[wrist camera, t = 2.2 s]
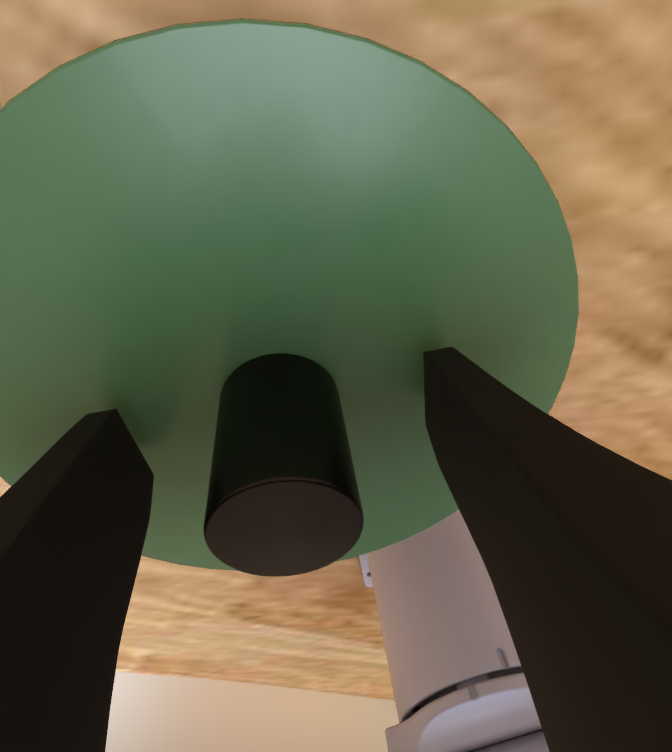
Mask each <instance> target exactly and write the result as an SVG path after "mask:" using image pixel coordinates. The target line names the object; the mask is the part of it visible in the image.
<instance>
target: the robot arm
mask: <svg viewBox="0 0 672 752" xmlns="http://www.w3.org/2000/svg"><path fill="white" fill-rule="evenodd" d="M423 360H424V397H425V425H426V428H427V431H428V435H429V438H430V441H431V444H432V447H433V450H434V453H435V456H436V459H437V462H438V465H439V467H440V470H441V472H442V474H443V476H444V478H445V481H446V483H447V485H448V487H449V489H450V491H451V493H452V496H453V498H454V500H455V502H456V504H457V506H458V508H459V510H457V511H456V512H455V513H453V514H451V515H450V516H448V517H446V518H445V519H443V520H441V521H440V522H438V523H436V524H435V525H433V526H431V527H429V528H427V529H425V530H423V531H421V532H419V533H417V534H415V535H413V536H411V537H409V538H407V539H405V540H402V541H400V542H397V543H394V544H392V545H389V546H387V547H384V548H382V549H379V550H376V551H373V552H370V553H366V554H363V555H360V556H359V559H360V564H361V569H362V575H363V580H364V584H365V586H367V587H370V588H372V587H373V589H374V594H375V599H376V604H377V609H378V614H379V620H380V625H381V630H382V635H383V640H384V645H385V650H386V656H387V661H388V666H389V671H390V676H391V681H392V686H393V691H394V697H395V702H396V707H397V712H398V717H399V722H400V723H399V724H397V725H395V726H392V727H389V728H387V729H386V730H385V734H386V740H387V746H388V752H672V480H670V479H668V478H665V477H663V476H661V475H659V474H657V473H655V472H653V471H650V470H648V469H646V468H644V467H642V466H640V465H638V464H636V463H634V462H632V461H630V460H628V459H626V458H624V457H622V456H620V455H618V454H617V453H615V452H613V451H611V450H609V449H607V448H605V447H603V446H601V445H599V444H597V443H596V442H594V441H592V440H590V439H588V438H587V437H585V436H583V435H581V434H579V433H578V432H576V431H574V430H573V429H571V428H569V427H568V426H566V425H565V424H563V423H561V422H560V421H558V420H556V419H555V418H553V417H551V416H550V415H548V414H546V413H545V412H543V411H542V410H540V409H539V408H537V407H536V406H534V405H533V404H531V403H530V402H528V401H527V400H525V399H524V398H522V397H521V396H519V395H518V394H516V393H515V392H513V391H512V390H511V389H509V388H508V387H506V386H505V385H504V384H502V383H501V382H499V381H498V380H497V379H495V378H494V377H493V376H491V375H490V374H489V373H487V372H486V371H484V370H483V369H482V368H480V367H479V366H478V365H476V364H475V363H474V362H472V361H471V360H470V359H468V358H467V357H466V356H464V355H463V354H462V353H460V352H459V351H458V350H456V349H455V348H454V347H447V348H442V349H437V350H431V351H426V352H423ZM153 481H154V474H153V472H152V471H151V469H150V467H149V465H148V464H147V462H146V460H145V458H144V456H143V455H142V453H141V451H140V449H139V448H138V446H137V444H136V442H135V441H134V439H133V437H132V435H131V434H130V432H129V430H128V428H127V426H126V425H125V423H124V421H123V419H122V418H121V416H120V414H119V412H118V411H117V409H111V410H106V411H101V412H95V413H90V414H86V415H85V416H84V417H83V418H82V419H80V420H79V421H78V422H77V423H76V424H75V425H74V426H73V427H72V428H71V429H69V430H68V431H67V432H66V433H65V434H64V435H63V436H62V437H61V438H60V439H59V440H58V441H57V442H56V443H55V444H54V445H53V446H52V447H51V448H50V449H49V450H48V451H47V452H46V453H45V454H44V455H43V456H42V457H41V458H40V459H39V460H38V461H37V462H36V463H35V464H34V465H33V466H32V467H31V468H30V469H29V470H28V471H27V472H26V473H25V474H24V475H23V476H22V477H21V478H20V479H19V480H18V481H17V482H16V483H15V484H13V485H12V486H11V487H10V488H9V489H8V490H7V491H6V492H5V493H4V494H3V495H2V496H1V497H0V752H105V746H106V738H107V729H108V720H109V711H110V704H111V696H112V691H113V684H114V677H115V670H116V663H117V656H118V650H119V645H120V641H121V636H122V631H123V626H124V622H125V618H126V614H127V610H128V606H129V602H130V598H131V594H132V590H133V586H134V582H135V578H136V574H137V570H138V566H139V562H140V558H141V554H142V550H143V546H144V542H145V537H146V533H147V529H148V524H149V520H150V512H151V504H152V493H153Z"/></svg>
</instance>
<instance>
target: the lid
mask: <svg viewBox="0 0 672 752" xmlns="http://www.w3.org/2000/svg"><path fill="white" fill-rule="evenodd" d="M578 313H579V312H578V275H577V269H576V263H575V258H574V252H573V246H572V241H571V237H570V234H569V231H568V229H567V226H566V223H565V220H564V217H563V214H562V212H561V209H560V206H559V203H558V200H557V199H556V197H555V195H554V193H553V191H552V190H551V188H550V186H549V184H548V182H547V181H546V179H545V177H544V175H543V173H542V172H541V170H540V168H539V166H538V164H537V163H536V161H535V160H534V159H533V157H532V156H531V155H530V154H529V152H528V151H527V150H526V149H525V147H524V146H523V145H522V144H521V142H520V141H519V140H518V139H517V137H516V136H515V135H514V134H513V132H512V131H511V130H510V129H509V127H508V126H507V125H506V124H505V123H504V122H502V121H501V120H500V119H499V118H498V117H497V116H496V115H495V114H494V113H492V112H491V111H490V110H489V109H488V108H487V107H486V106H485V105H483V104H482V103H481V102H480V101H479V100H478V99H477V98H476V97H475V96H473V95H472V94H471V93H470V92H469V91H467V90H466V89H464V88H463V87H461V86H460V85H458V84H456V83H455V82H453V81H452V80H450V79H449V78H447V77H445V76H444V75H442V74H441V73H439V72H437V71H436V70H434V69H433V68H431V67H430V66H428V65H426V64H425V63H423V62H422V61H419V60H417V59H415V58H412V57H410V56H408V55H405V54H403V53H400V52H398V51H396V50H393V49H391V48H389V47H386V46H384V45H382V44H379V43H377V42H374V41H372V40H370V39H367V38H364V37H360V36H355V35H351V34H347V33H343V32H339V31H335V30H331V29H327V28H323V27H318V26H314V25H310V24H306V23H293V22H280V21H267V20H254V19H231V20H219V21H208V22H196V23H185V24H176V25H172V26H168V27H164V28H160V29H156V30H153V31H149V32H145V33H141V34H137V35H133V36H130V37H126V38H122V39H118V40H114V41H112V42H110V43H108V44H106V45H103V46H101V47H99V48H97V49H95V50H92V51H90V52H88V53H86V54H84V55H82V56H79V57H77V58H75V59H73V60H71V61H68V62H66V63H64V64H62V65H60V66H58V67H56V68H55V69H53V70H52V71H50V72H49V73H48V74H46V75H45V76H43V77H42V78H40V79H39V80H38V81H36V82H35V83H33V84H32V85H30V86H29V87H28V88H26V89H25V90H23V91H22V92H20V93H19V94H18V95H16V96H15V97H13V98H12V99H10V100H9V101H8V102H7V103H6V104H5V105H4V106H3V107H2V108H1V109H0V476H1V477H2V478H3V479H4V480H5V481H6V482H7V483H8V484H9V485H11V486H12V485H13V484H15V483H16V482H17V481H18V480H19V479H20V478H21V477H22V476H23V475H24V474H25V473H26V472H27V471H28V470H29V469H30V468H31V467H32V466H33V465H34V464H35V463H36V462H37V461H38V460H39V459H40V458H41V457H42V456H43V455H44V454H45V453H46V452H47V451H48V450H49V449H50V448H51V447H52V446H53V445H54V444H55V443H56V442H57V441H58V440H59V439H60V438H61V437H62V436H63V435H64V434H65V433H66V432H67V431H68V430H69V429H71V428H72V427H73V426H74V425H75V424H76V423H77V422H78V421H79V420H80V419H82V418H83V417H84V416H85V415H86V414H90V413H95V412H101V411H106V410H111V409H117V411H118V412H119V414H120V416H121V418H122V419H123V421H124V423H125V425H126V426H127V428H128V430H129V432H130V434H131V435H132V437H133V439H134V441H135V442H136V444H137V446H138V448H139V449H140V451H141V453H142V455H143V456H144V458H145V460H146V462H147V464H148V465H149V467H150V469H151V471H152V472H153V474H154V481H153V493H152V504H151V512H150V520H149V524H148V529H147V533H146V537H145V542H144V546H143V550H142V554H141V555H143V556H146V557H149V558H153V559H158V560H162V561H167V562H171V563H176V564H180V565H187V566H194V567H201V568H208V569H221V570H236V571H242V572H245V573H249V574H253V575H260V576H292V575H298V574H303V573H307V572H311V571H314V570H317V569H320V568H323V567H325V566H327V565H329V564H331V563H333V562H336V561H340V560H345V559H349V558H353V557H357V556H360V555H363V554H366V553H370V552H373V551H376V550H379V549H382V548H384V547H387V546H389V545H392V544H394V543H397V542H400V541H402V540H405V539H407V538H409V537H411V536H413V535H415V534H417V533H419V532H421V531H423V530H425V529H427V528H429V527H431V526H433V525H435V524H436V523H438V522H440V521H441V520H443V519H445V518H446V517H448V516H450V515H451V514H453V513H455V512H456V511H457V510H459V508H458V506H457V504H456V502H455V500H454V498H453V496H452V493H451V491H450V489H449V487H448V485H447V483H446V481H445V478H444V476H443V474H442V472H441V470H440V467H439V465H438V462H437V459H436V456H435V453H434V450H433V447H432V444H431V441H430V438H429V435H428V431H427V428H426V425H425V397H424V360H423V352H426V351H431V350H437V349H442V348H447V347H454V348H455V349H456V350H458V351H459V352H460V353H462V354H463V355H464V356H466V357H467V358H468V359H470V360H471V361H472V362H474V363H475V364H476V365H478V366H479V367H480V368H482V369H483V370H484V371H486V372H487V373H489V374H490V375H491V376H493V377H494V378H495V379H497V380H498V381H499V382H501V383H502V384H504V385H505V386H506V387H508V388H509V389H511V390H512V391H513V392H515V393H516V394H518V395H519V396H521V397H522V398H524V399H525V400H527V401H528V402H530V403H531V404H533V405H534V406H536V407H537V408H539V409H540V410H542V411H543V412H545V413H546V414H548V413H549V411H550V410H551V408H552V406H553V404H554V402H555V399H556V397H557V395H558V393H559V390H560V388H561V386H562V383H563V381H564V379H565V376H566V372H567V369H568V365H569V362H570V358H571V355H572V351H573V348H574V342H575V335H576V328H577V320H578Z"/></svg>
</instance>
